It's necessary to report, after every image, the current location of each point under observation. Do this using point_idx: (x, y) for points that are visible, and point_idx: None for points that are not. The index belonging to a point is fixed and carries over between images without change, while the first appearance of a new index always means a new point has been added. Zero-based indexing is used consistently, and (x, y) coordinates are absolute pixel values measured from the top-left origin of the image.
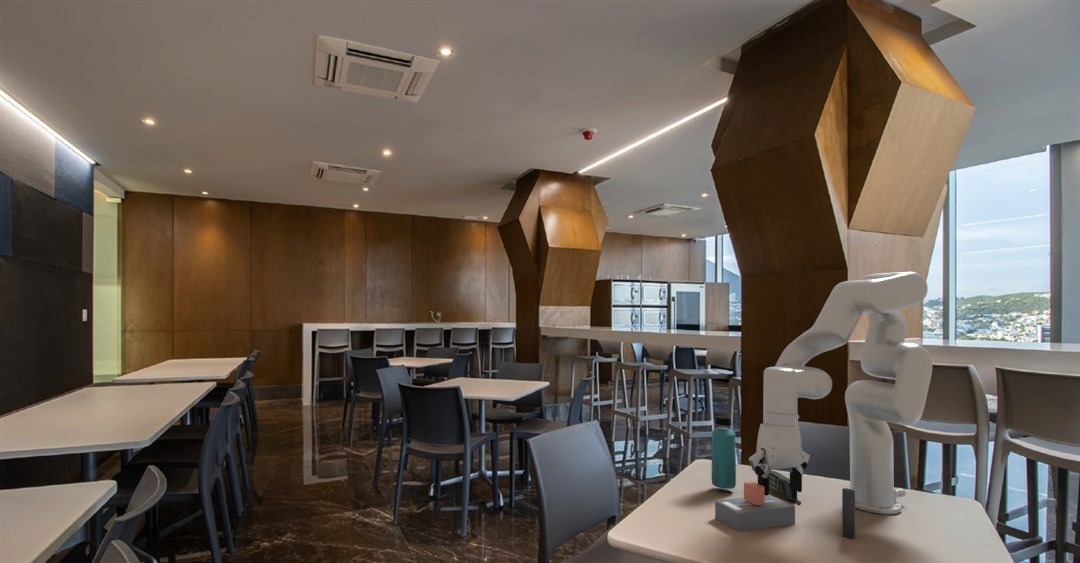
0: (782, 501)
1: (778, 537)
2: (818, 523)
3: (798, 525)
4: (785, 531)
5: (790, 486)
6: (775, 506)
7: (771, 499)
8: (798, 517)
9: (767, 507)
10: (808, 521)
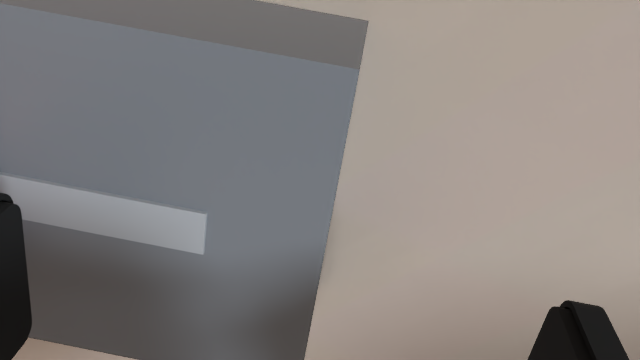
0: (296, 276)
1: (24, 346)
2: (493, 354)
3: (316, 310)
4: None
5: (553, 331)
6: (106, 318)
7: (231, 187)
8: (477, 229)
9: None
10: (464, 306)
